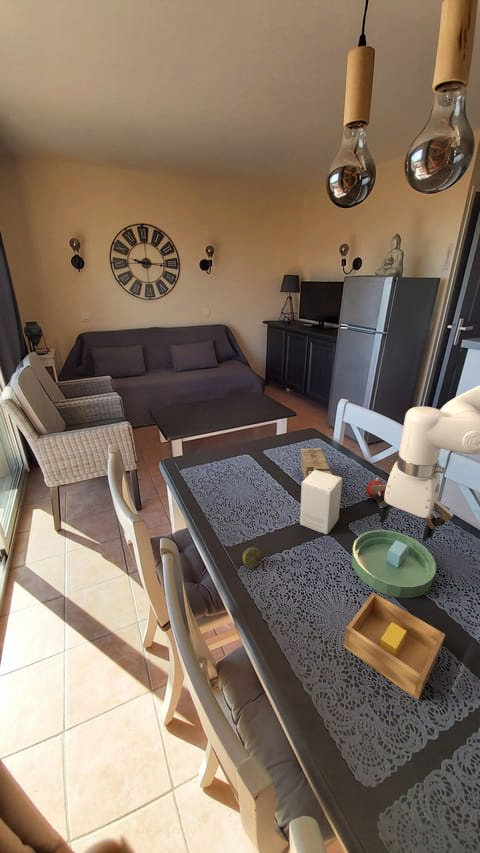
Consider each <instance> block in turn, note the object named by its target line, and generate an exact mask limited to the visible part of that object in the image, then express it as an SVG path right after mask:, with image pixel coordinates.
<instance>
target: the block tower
mask: <svg viewBox="0 0 480 853" xmlns="http://www.w3.org/2000/svg"><path fill="white" fill-rule="evenodd" d="M300 456H301V460H300V462H301V463H300V469H301V470H300V471H301V473H302V476H303V481H304V480H305V479H306V478H307V477H308V476H309V475H310V474H311V473H312V472H313V471H314V470H318V471H321V472H324V473H328V474H331V475H333V474H332V471H331V470H330V466H329V464H328V461H327V460H326V458H325V455H324V452H323V448H321V447H311V448H308V447H307V448H301V449H300Z"/></svg>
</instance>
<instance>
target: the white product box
mask: <svg viewBox="0 0 480 853" xmlns="http://www.w3.org/2000/svg"><path fill="white" fill-rule="evenodd" d="M331 474H332V473H331ZM331 474H328V473H324V472H321V471H318V470H314V471H313V472H312V473H311V474H310V475H309V476H308V477H307V478H306V479H305V480H304V479H303V480H302V481H301V490H300V491H301V492H300V515H299V516H300V517H299V518H300V519H299V524H300V526H304V527H305V528H308V529H311V530H313V531H316V532H318V533H323V534H325V535H328V534H329V533H331V530H332V529H333V528H334V527H335V525H336V524H337V522H338V521H339V518H340V509H341V508H340V507H341V497H342V496H341V495H342V486H343V477H341V476H337V475H334V474H332V475H331Z"/></svg>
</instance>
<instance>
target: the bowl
mask: <svg viewBox="0 0 480 853" xmlns="http://www.w3.org/2000/svg"><path fill="white" fill-rule="evenodd" d="M396 540H397V541H399V542H402V543H404V544H406V545H408V547H407V552H406V557H405V559H404V560H403V561H402V563H401V564H400V566H399V567H398V568H397V567H395V566H393V565H391V564H389V563H387V562H386V560H387V554H388V550H389V549H390V547H391V546H392V545H393V544H394V542H395V541H396ZM351 566H352V568H353V570H354V572H355V574H356V575H357V576H358V578H360V579H361V581H362V582H363V583H364V584H366V585H367V586H369V587H370V588H371V589H373V590H374V591H377V592H378V593H381V594H384V595H386V596H390V597H393V598H399V599H412V598H417V597H422V596H423V595H424V594H426V593H427V592H429V591H430V589H431V588H432V586H433V584H434V581H435V578H436V574H437V563H436V560H435V558H434V555H433V554H432V553H431V552H430V550H428V548H427V547H426V546H424V545H423V544H422V543H421V542H419V541H418V540H417V539H414V538H413V537H410V536H409V535H407V534H403V533H400V532H397V531H393V530H387V529H374V530H368V531H366V532H364V533H361V534H360V535H358V537H356V538H355V540H354V542H353V545H352V550H351Z"/></svg>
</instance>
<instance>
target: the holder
mask: <svg viewBox="0 0 480 853" xmlns="http://www.w3.org/2000/svg"><path fill="white" fill-rule="evenodd" d="M391 622H393V623H395V624H396V625H398V626H399V627H401V628H403V629H404V630H406V631H407V632H406V636H405V640H404V645H403V646H402V648H401V650H400V652H399V653H398V655H397V657H394V656H393V655H391V654H390V653H388V652H387V651H385V650H384V649H382V648H381V647H380V642H381V638H382V637H383V635H384V633H385V632H386V630H387V629H388V627H389V625H390V624H391ZM445 638H446V633H444V632H442V631H441V630H438V628H435V627H434V626H432V625H431V624H428V623H427V622H425V621H424V620H422V619H421V618H418V617H416V616H415V615H413V614H411V613H410V612H408V611H407V610H405V609H403V608H401V607H399V606H398V605H396V604H394V603H392V602H390V601H389V600H387V599H386V598H384V597H383V596H381V595H379V594H377V593H375V592H372V593H370V595H369V597H368V598H367V599H366V601H365V602H364V603H363V605H362V606H361V607H360V609H359V610H358V611H357V613H356V614H355V615H354V617H353V618H352V619H351V621H350V622H349V624H348V625H347V626H346V628H345V634H344V642H343V647H344V648H345V649H346V650H347V651H348V652H350V653H351V654H353V655H354V656H356V657H357V658H359V659H360V660H361V661H363V662H364V663H365V664H367V665H368V666H370V668H373V669H374V670H375V671H376V672H378V673H379V674H381V675H382V676H383V677H385V678H386V679H388V680H389V681H391V682H392V683H393V684H395V686H397V687H399V688H400V689H401V690H403V691H404V692H406V693H407V694H409V695H410V696H411V697H412V698H414V699H415V700H416V701H419V700H420V698H421V696H422V694H423V692H424V690H425V687H426V685H427V682H428V680H429V678H430V676H431V675H432V674H431V673H432V671H433V670H434V667H435V665H436V663H437V660H438V658H439V657H440V654H441V651H442V648H443V645H444V641H445Z"/></svg>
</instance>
